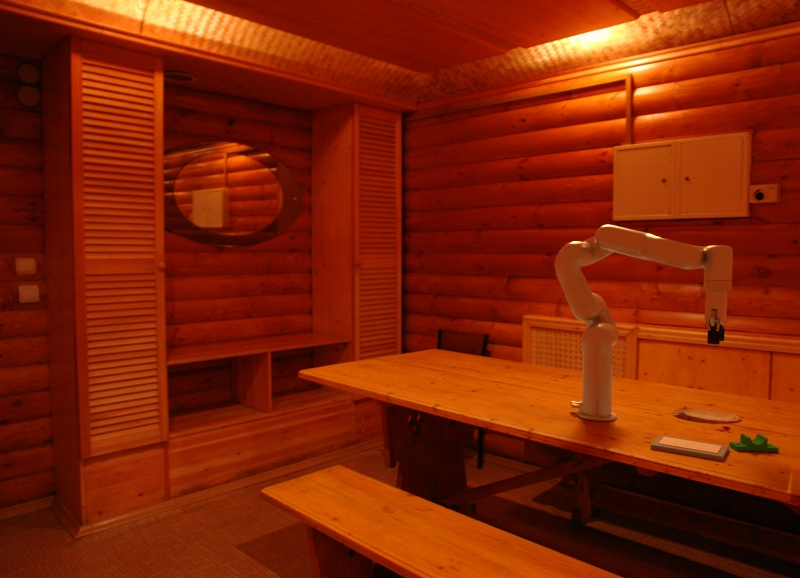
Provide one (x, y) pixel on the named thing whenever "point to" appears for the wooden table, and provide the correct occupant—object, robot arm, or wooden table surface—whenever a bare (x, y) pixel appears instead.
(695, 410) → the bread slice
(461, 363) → the wooden table surface
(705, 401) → the wooden table surface
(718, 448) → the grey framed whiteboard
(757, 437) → the pipe clamp
